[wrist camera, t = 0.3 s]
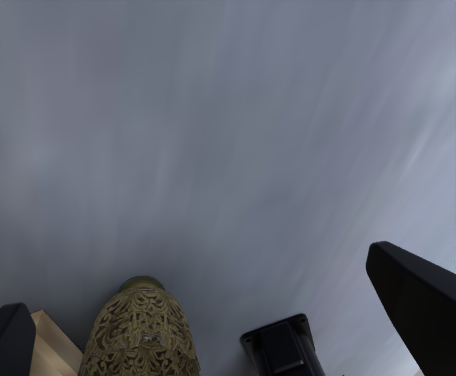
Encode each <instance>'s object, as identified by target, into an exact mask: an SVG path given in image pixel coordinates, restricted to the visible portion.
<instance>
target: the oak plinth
mask: <svg viewBox="0 0 456 376" xmlns="http://www.w3.org/2000/svg"><path fill="white" fill-rule="evenodd" d="M31 317H32V319H33V321H34V323H35V325H36V338H35V344H34V350H33V356H32V362H31V369H30V375H29V376H77V374H78V371H79V368H80V364H81V361H82V358H83V353H82V352H81V351H80V350H79V349H78V348H77V347H76V346H75V344H74V343H73V342H72V341H71V340H70V339H69V338H68V337H67V336H66V335H65V334H64V333H63V332H62V330H61V329H60V328H59V327H58V326H57V325H56V324H55V323H54V322H53V321H52V320H51V319H50V318H49V316H48V315H47V314H46V313H45V312H44V311H43V310H40V311H37V312H35V313H32V314H31Z"/></svg>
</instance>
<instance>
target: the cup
mask: <svg viewBox="0 0 456 376" xmlns="http://www.w3.org/2000/svg"><path fill="white" fill-rule="evenodd" d="M200 371H201V369H200V365H199V364H198V359H197V355H196V351H195V347H194V343H193V339H192V336H191V332H190V328H189V324H188V321H187V318H186V316H185V313H184V311H183V309H182V307H181V305H180V304H179V302H178V301H177V300H176V299H175V298H174V297H173V296H172V295H171V294H170V293H168V292H166V291H165V288H164V287H163V285H162V284H161V283H160V282H159V281H158V280H157V279H155V278H153V277H149V276H138V277H134V278H132V279H130V280H128V281H127V282H126V283H124V285H123V286H122V287H121V289H120V290H119V292H118V294H116V295H115V296H113V297H112V298H111V299H110V300H109V301H108V302H107V303H106V304H105V305H104V306H103V308H102V309H101V310H100V312H99V314H98V316H97V318H96V320H95V322H94V325H93V327H92V330H91V333H90V335H89V339H88V342H87V345H86V348H85V351H84V354H83V358H82V361H81V364H80V368H79V371H78V374H77V376H200Z"/></svg>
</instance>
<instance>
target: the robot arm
mask: <svg viewBox="0 0 456 376" xmlns="http://www.w3.org/2000/svg"><path fill="white" fill-rule="evenodd" d="M366 272H367V274H368V276H369V278H370V280H371V282H372V284H373V286H374V289H375V291H376V293H377V295H378V297H379V299H380V301H381V303H382V305H383V307H384V309H385V311H386V313H387V315H388V317H389V318H390V320H391V322H392V324H393V326H394V327H395V329H396V331H397V332H398V334H399V335H400V337H401V339H402V340H403V342H404V343H405V345H406V347H407V348H408V350H409V351H410V353H411V355H412V356H413V358H414V359H415V361H416V362H417V364H418V366H419V367H420V369H421V370H422V372H423V374H424V375H425V376H456V274H455V273H453V272H450V271H448V270H446V269H444V268H442V267H440V266H438V265H436V264H434V263H432V262H429V261H427V260H425V259H423V258H421V257H419V256H417V255H415V254H413V253H411V252H408V251H406V250H404V249H402V248H400V247H398V246H396V245H394V244H392V243H390V242H387V241H381V242H375V243H372V244H371V245H370V247H369V252H368V256H367V261H366ZM35 338H36V325H35V323H34V321H33V319H32V317H31V314H30V312H29V310H28V308H27V306H26V305H25V304H24V303H22V302H18V303H12V304H7V305H4V306H2V307H1V308H0V376H29V375H30V369H31V362H32V356H33V350H34V344H35ZM242 339H243V343H244V345H245V347H246V349H247V352H248V354H249V356H250V358H251V361H252V363H253V365H254V367H255V370H256V372H257V373H259V376H325V373H324V371H323V369H322V367H321V365H320V362H319V360H318V358H317V356H316V354H315V347H314V343H313V339H312V335H311V331H310V327H309V323H308V319H307V317H306V315H305V314H300V315H297V316H294V317H291V318H289V319H286V320H283V321H280V322H278V323H275V324H272V325H269V326H267V327H264V328H261V329H258V330H256V331H253V332H250V333H247V334H245V335H244V336H243V337H242ZM343 376H344V375H343Z"/></svg>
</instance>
